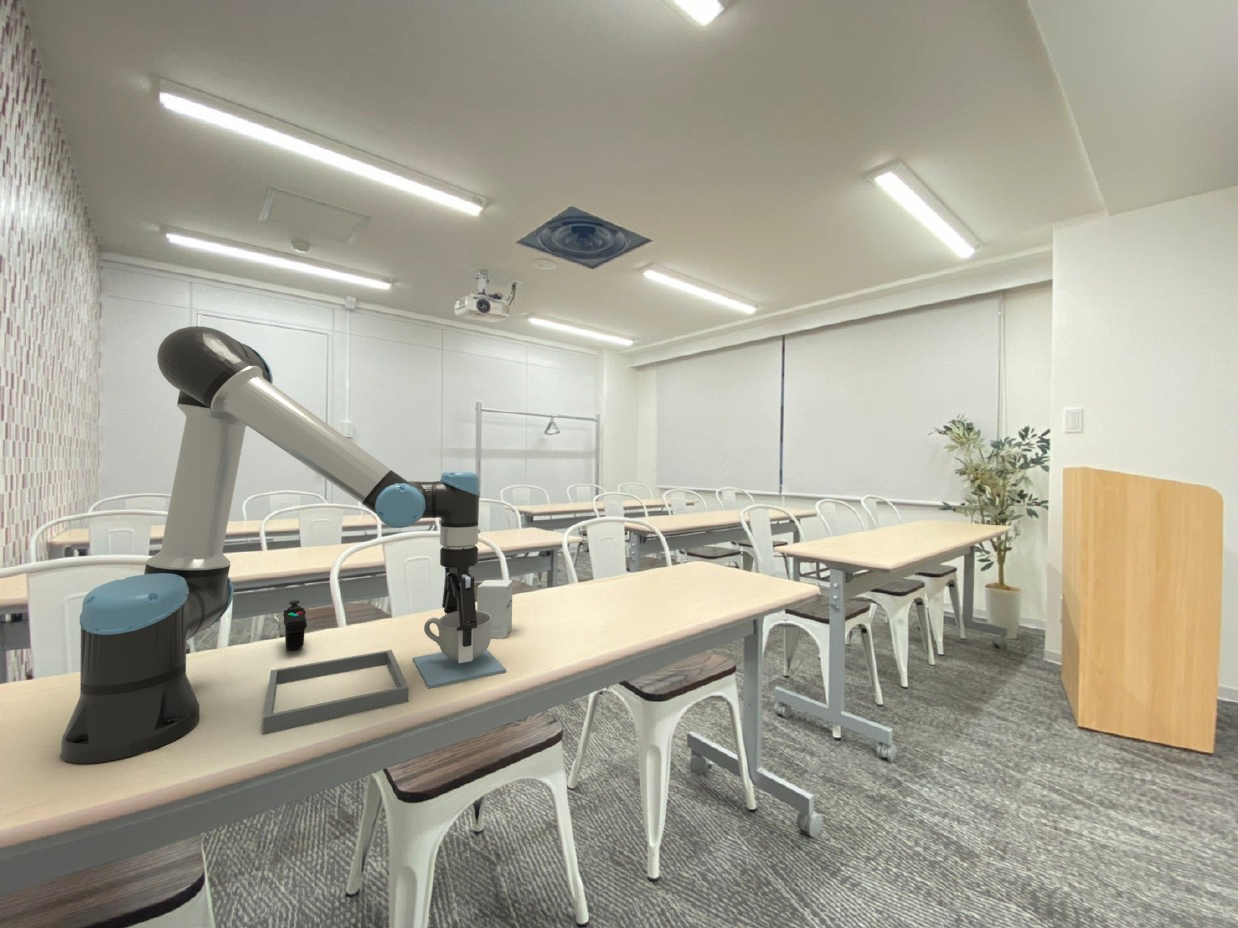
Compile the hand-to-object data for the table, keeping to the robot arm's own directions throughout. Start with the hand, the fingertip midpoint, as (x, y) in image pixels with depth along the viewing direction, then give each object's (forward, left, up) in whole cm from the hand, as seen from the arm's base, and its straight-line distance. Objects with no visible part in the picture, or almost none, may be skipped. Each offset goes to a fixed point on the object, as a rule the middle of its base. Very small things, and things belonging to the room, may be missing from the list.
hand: (457, 652), depth 104 cm
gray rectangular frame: (-22, -1, -3) cm, 22 cm away
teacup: (0, +1, -1) cm, 2 cm away
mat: (0, 0, -3) cm, 3 cm away
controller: (-29, +28, -3) cm, 40 cm away
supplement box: (+13, +16, -3) cm, 21 cm away
